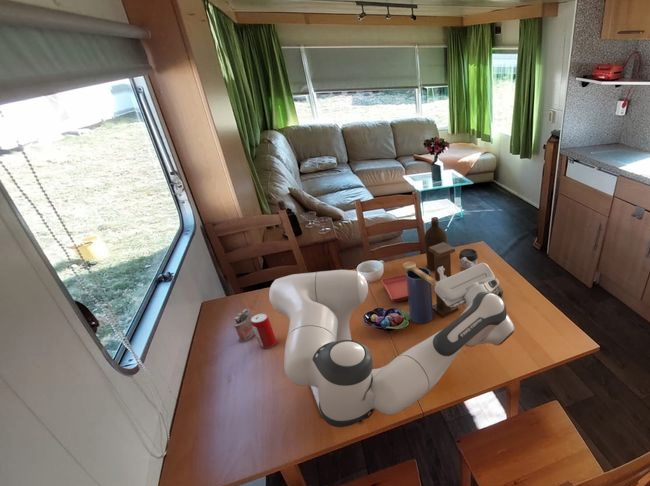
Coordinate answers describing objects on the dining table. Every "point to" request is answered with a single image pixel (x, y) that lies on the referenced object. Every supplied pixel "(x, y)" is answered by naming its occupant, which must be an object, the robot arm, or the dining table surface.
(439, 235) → the olive oil
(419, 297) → the crock
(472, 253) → the coffee cup
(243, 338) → the lighter
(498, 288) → the donut
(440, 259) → the stand
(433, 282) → the spoon
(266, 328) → the soda can
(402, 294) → the plant saucer
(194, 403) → the dining table surface
